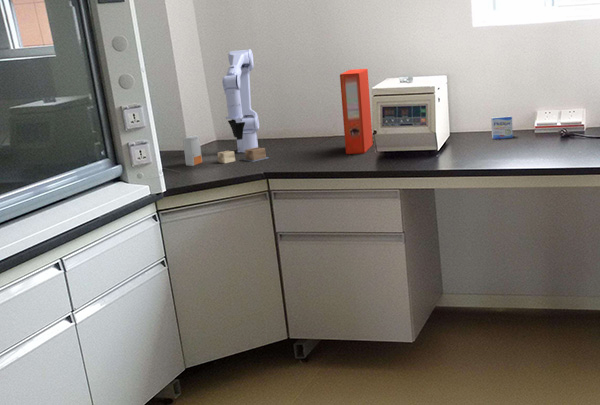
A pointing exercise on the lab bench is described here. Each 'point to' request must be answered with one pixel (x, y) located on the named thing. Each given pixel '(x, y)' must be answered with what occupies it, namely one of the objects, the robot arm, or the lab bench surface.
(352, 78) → the file binder
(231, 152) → the maple block
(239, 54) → the robot arm
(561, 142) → the lab bench surface
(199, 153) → the skincare box
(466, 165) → the lab bench surface
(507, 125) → the medicine box
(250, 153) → the base block
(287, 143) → the lab bench surface
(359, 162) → the lab bench surface
